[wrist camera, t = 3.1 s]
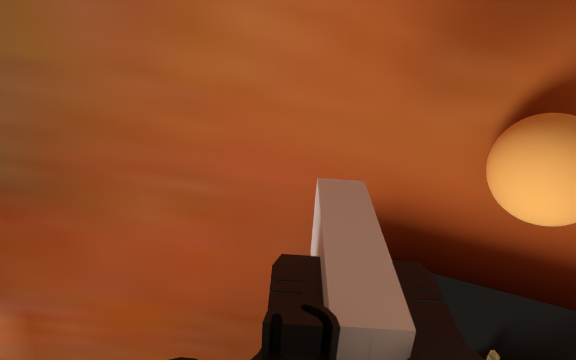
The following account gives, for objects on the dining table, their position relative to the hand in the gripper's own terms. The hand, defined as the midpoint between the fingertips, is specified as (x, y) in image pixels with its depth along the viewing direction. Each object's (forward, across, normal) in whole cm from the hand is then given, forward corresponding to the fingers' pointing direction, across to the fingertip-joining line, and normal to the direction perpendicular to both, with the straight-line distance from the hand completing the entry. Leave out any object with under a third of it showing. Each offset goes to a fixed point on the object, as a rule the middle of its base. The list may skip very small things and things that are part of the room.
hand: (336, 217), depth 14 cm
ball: (+7, -11, 0) cm, 13 cm away
